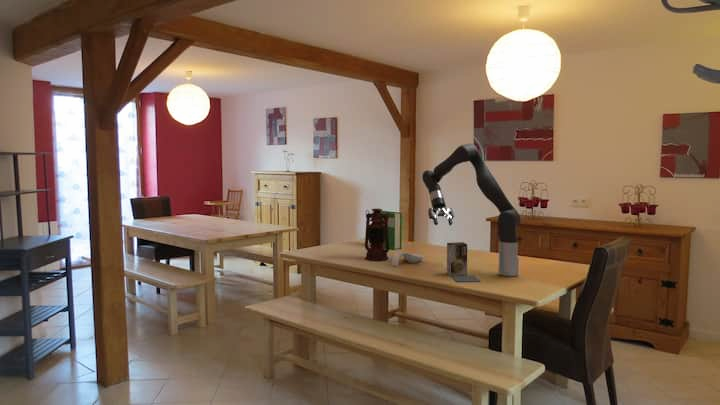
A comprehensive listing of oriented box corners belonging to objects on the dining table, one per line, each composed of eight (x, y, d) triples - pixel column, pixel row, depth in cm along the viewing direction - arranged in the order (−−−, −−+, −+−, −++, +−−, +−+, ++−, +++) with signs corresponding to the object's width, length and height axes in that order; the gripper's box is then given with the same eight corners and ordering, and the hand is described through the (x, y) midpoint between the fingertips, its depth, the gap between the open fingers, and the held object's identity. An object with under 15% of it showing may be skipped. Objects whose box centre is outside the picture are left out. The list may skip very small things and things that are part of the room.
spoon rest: (411, 258, 298) (411, 247, 298) (427, 261, 291) (427, 249, 290) (386, 265, 281) (386, 252, 280) (403, 268, 273) (403, 255, 272)
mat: (474, 276, 254) (474, 275, 254) (480, 281, 242) (480, 281, 242) (451, 276, 254) (451, 275, 254) (456, 282, 242) (456, 281, 242)
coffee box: (462, 272, 263) (463, 241, 261) (467, 275, 256) (468, 244, 255) (446, 272, 261) (446, 242, 260) (450, 275, 255) (451, 244, 253)
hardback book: (401, 248, 330) (401, 212, 327) (394, 250, 325) (394, 213, 322) (382, 245, 342) (382, 210, 340) (374, 246, 337) (374, 211, 335)
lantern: (358, 259, 296) (358, 209, 293) (371, 255, 307) (371, 207, 304) (382, 262, 286) (382, 210, 283) (395, 258, 297) (395, 208, 294)
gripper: (428, 196, 279) (434, 221, 270) (451, 196, 283) (458, 221, 274) (423, 203, 285) (429, 228, 276) (446, 204, 289) (453, 228, 280)
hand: (443, 224), depth 275 cm, fingers open, 8 cm apart
